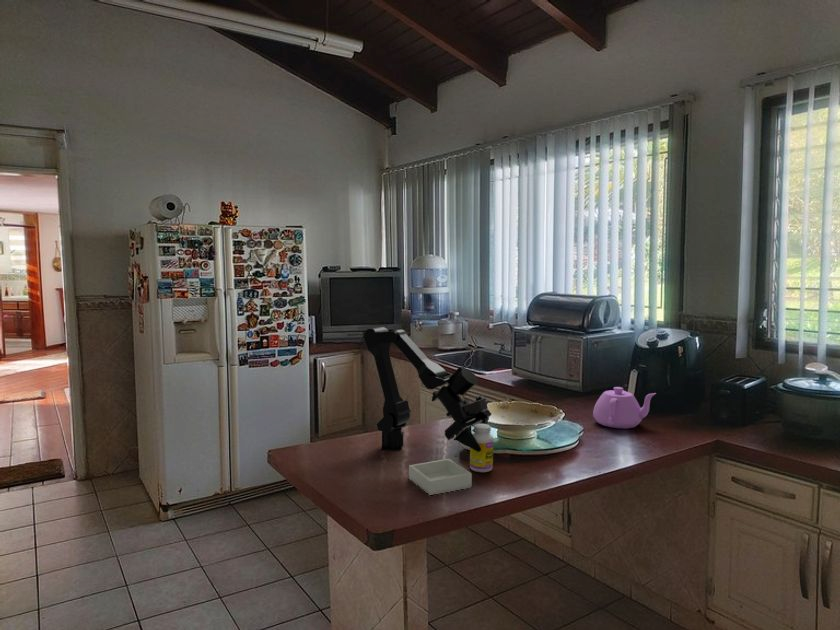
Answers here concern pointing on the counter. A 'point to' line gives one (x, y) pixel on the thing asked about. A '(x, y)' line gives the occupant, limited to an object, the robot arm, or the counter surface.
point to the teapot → (620, 409)
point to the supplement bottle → (482, 449)
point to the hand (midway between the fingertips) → (485, 447)
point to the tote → (440, 476)
